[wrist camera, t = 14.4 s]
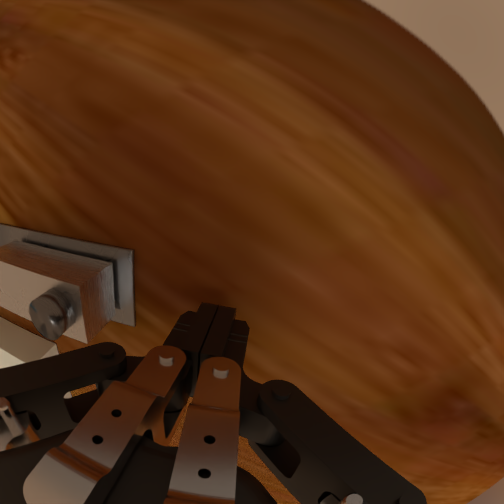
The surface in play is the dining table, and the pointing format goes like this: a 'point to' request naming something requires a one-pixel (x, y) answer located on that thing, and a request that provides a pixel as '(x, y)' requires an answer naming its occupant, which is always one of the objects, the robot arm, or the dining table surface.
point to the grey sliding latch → (108, 253)
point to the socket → (23, 346)
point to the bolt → (57, 290)
